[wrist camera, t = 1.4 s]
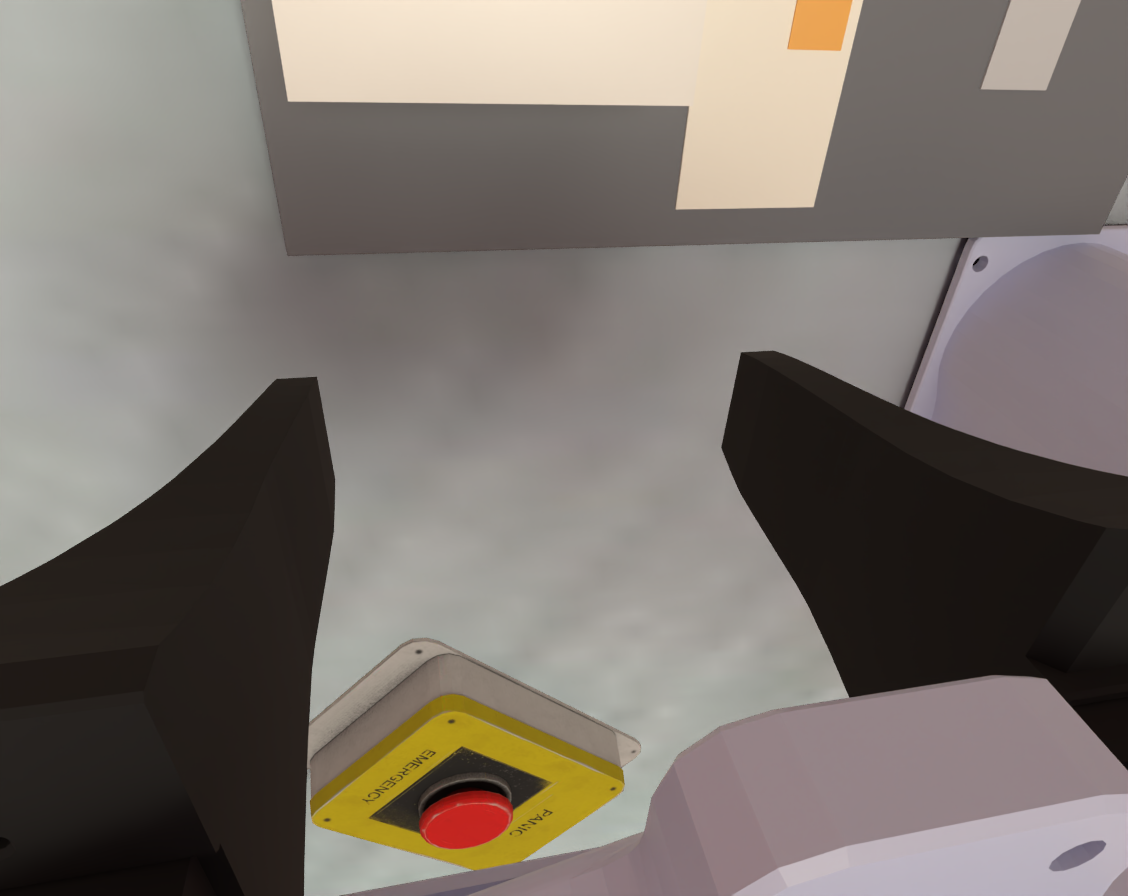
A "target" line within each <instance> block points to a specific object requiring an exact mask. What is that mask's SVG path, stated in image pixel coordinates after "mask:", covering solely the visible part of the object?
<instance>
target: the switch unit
mask: <svg viewBox="0 0 1128 896" xmlns="http://www.w3.org/2000/svg"><path fill="white" fill-rule="evenodd" d="M241 5H242V10H243V16H244V21H245V27H246V32H247V38H248V43H249V48H250V54H251V59H252V65H253V70H254V76H255V81H256V87H257V92H258V97H259V103H260V108H261V114H262V119H263V125H264V130H265V136H266V141H267V146H268V152H269V157H270V163H271V168H272V174H273V179H274V185H275V190H276V195H277V201H278V206H279V212H280V217H281V223H282V228H283V234H284V239H285V244H286V250H287V255H288V256H299V255H336V254H374V253H412V252H449V251H487V250H524V249H562V248H600V247H637V246H675V245H713V244H750V243H788V242H825V241H863V240H901V239H938V238H976V237H1013V236H1051V235H1089V234H1100V232H1101V230H1102V228H1103V226H1104V224H1105V221H1106V219H1107V217H1108V215H1109V213H1110V211H1111V209H1112V207H1113V205H1114V203H1115V200H1116V198H1117V196H1118V194H1119V192H1120V190H1121V188H1122V186H1123V184H1124V182H1125V180H1126V177H1127V175H1128V0H707V5H706V12H705V20H704V27H703V35H702V42H701V50H700V57H699V65H698V72H697V79H696V87H695V94H694V102H693V106H645V105H556V104H467V103H378V102H289V101H288V98H287V92H286V86H285V80H284V74H283V68H282V61H281V55H280V49H279V43H278V37H277V31H276V25H275V18H274V12H273V6H272V0H241Z"/></svg>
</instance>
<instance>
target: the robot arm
mask: <svg viewBox="0 0 1128 896" xmlns="http://www.w3.org/2000/svg"><path fill="white" fill-rule="evenodd" d="M979 257H980V259H979V261H978V262H977V264H975V265H974V266H973V263H974V262H975V260H976V259H977V258H979ZM721 448H722V450H723V453H724V456H725V458H726V461H727V463H728V466H729V468H730V471H731V473H732V476H733V478H734V480H735V482H736V485H737V487H738V489H739V491H740V493H741V495H742V497H743V498H744V500H745V502H746V504H747V505H748V507H749V509H750V510H751V512H752V514H753V515H754V517H755V518H756V520H757V522H758V523H759V525H760V527H761V528H762V530H763V532H764V533H765V535H766V536H767V538H768V540H769V541H770V543H771V544H772V546H773V548H774V549H775V551H776V552H777V554H778V556H779V557H780V559H781V561H782V562H783V564H784V565H785V567H786V569H787V570H788V572H789V573H790V575H791V577H792V578H793V580H794V581H795V583H796V585H797V587H798V588H799V590H800V592H801V594H802V595H803V597H804V599H805V601H806V603H807V604H808V606H809V608H810V611H811V613H812V615H813V617H814V619H815V621H816V623H817V625H818V628H819V630H820V632H821V634H822V636H823V638H824V640H825V643H826V645H827V647H828V649H829V651H830V653H831V656H832V658H833V660H834V663H835V665H836V667H837V670H838V672H839V674H840V677H841V679H842V681H843V684H844V686H845V688H846V691H847V693H848V695H849V698H845V699H838V700H832V701H826V702H819V703H813V704H807V705H801V706H794V707H788V708H782V709H775V710H770V711H767V712H764V713H761V714H758V715H754V716H751V717H748V718H745V719H742V720H739V721H735V722H732V723H729V724H726V725H723V726H720V727H718V728H717V729H715V730H714V731H712V732H711V733H709V734H708V735H706V736H705V737H703V738H702V739H700V740H699V741H697V742H696V743H695V744H693V745H692V746H690V747H689V748H687V749H686V750H684V751H683V752H681V753H680V754H678V756H677V757H676V759H675V760H674V762H673V764H672V765H671V767H670V768H669V770H668V771H667V773H666V775H665V776H664V778H663V779H662V781H661V782H660V784H659V786H658V787H657V789H656V791H655V793H654V794H653V796H652V798H651V803H650V808H649V812H648V817H647V822H646V826H645V831H644V832H641V833H638V834H635V835H632V836H629V837H626V838H624V839H621V840H618V841H615V842H613V843H610V844H607V845H604V846H602V847H597V848H592V849H586V850H581V851H576V852H570V853H565V854H560V855H554V856H549V857H544V858H538V859H533V860H528V861H522V862H517V863H512V864H506V865H501V866H496V867H490V868H485V869H480V870H474V871H469V872H464V873H458V874H453V875H448V876H442V877H437V878H432V879H426V880H421V881H416V882H410V883H405V884H400V885H394V886H389V887H384V888H378V889H373V890H368V891H362V892H357V893H352V894H346V895H341V896H1128V225H1119V226H1103V228H1102V230H1101V232H1100V234H1089V235H1051V236H1013V237H976V238H969V239H968V241H967V243H966V244H965V247H964V249H963V252H962V255H961V257H960V260H959V263H958V266H957V268H956V271H955V274H954V276H953V279H952V282H951V284H950V287H949V290H948V292H947V295H946V298H945V300H944V303H943V306H942V309H941V311H940V314H939V317H938V319H937V322H936V325H935V327H934V330H933V333H932V335H931V338H930V341H929V343H928V346H927V349H926V352H925V354H924V357H923V360H922V362H921V365H920V368H919V370H918V373H917V376H916V378H915V381H914V384H913V386H912V389H911V392H910V395H909V397H908V400H907V403H906V405H905V408H904V409H903V408H901V407H898V406H896V405H894V404H892V403H889V402H887V401H885V400H883V399H880V398H878V397H876V396H874V395H872V394H870V393H868V392H865V391H863V390H861V389H859V388H857V387H855V386H853V385H851V384H849V383H847V382H844V381H842V380H840V379H838V378H836V377H834V376H832V375H830V374H828V373H826V372H824V371H821V370H819V369H817V368H815V367H813V366H811V365H809V364H806V363H804V362H802V361H800V360H797V359H795V358H792V357H790V356H787V355H785V354H782V353H779V352H776V351H759V352H742V353H741V355H740V360H739V365H738V370H737V375H736V380H735V384H734V389H733V394H732V399H731V404H730V408H729V413H728V418H727V423H726V428H725V433H724V437H723V442H722V447H721ZM334 510H335V476H334V471H333V465H332V459H331V454H330V448H329V442H328V437H327V431H326V426H325V420H324V414H323V409H322V403H321V397H320V392H319V386H318V380H317V377H306V378H288V379H276V380H275V381H274V382H273V383H272V384H271V385H270V386H269V387H268V388H267V389H266V390H265V391H264V392H263V393H262V395H261V396H260V397H259V398H258V399H257V400H256V401H255V402H254V403H253V404H252V405H251V406H250V407H249V408H248V409H247V410H246V411H245V412H244V413H243V414H242V415H241V417H240V418H239V419H238V420H237V421H236V422H235V423H234V424H233V425H232V426H231V427H230V428H229V429H228V430H227V431H226V432H225V433H224V434H223V435H222V436H221V437H220V438H219V439H218V440H217V441H216V442H215V443H213V444H212V445H211V446H210V447H209V448H208V449H207V450H206V451H204V452H203V453H202V454H201V455H200V456H199V457H198V458H197V459H195V460H194V461H193V462H192V463H191V464H190V465H189V466H187V467H186V468H185V469H184V470H183V471H182V472H181V473H180V474H178V475H177V476H176V477H175V478H174V479H173V480H171V481H170V482H169V483H168V484H166V485H165V486H164V487H162V488H161V489H160V490H159V491H157V492H156V493H155V494H153V495H152V496H151V497H149V498H148V499H147V500H145V501H144V502H142V503H141V504H139V505H138V506H137V507H135V508H134V509H132V510H131V511H130V512H128V513H127V514H125V515H124V516H122V517H121V518H119V519H118V520H116V521H115V522H113V523H112V524H110V525H109V526H107V527H105V528H104V529H102V530H100V531H99V532H97V533H95V534H94V535H92V536H90V537H89V538H87V539H85V540H84V541H82V542H80V543H79V544H77V545H75V546H74V547H72V548H70V549H69V550H67V551H65V552H64V553H62V554H60V555H59V556H57V557H55V558H54V559H52V560H50V561H48V562H46V563H45V564H43V565H41V566H39V567H37V568H35V569H33V570H31V571H29V572H28V573H26V574H24V575H22V576H20V577H18V578H16V579H14V580H12V581H10V582H8V583H6V584H4V585H2V586H0V896H304V855H305V818H306V783H307V758H308V734H309V713H310V695H311V676H312V665H313V656H314V648H315V641H316V635H317V629H318V623H319V617H320V611H321V605H322V600H323V594H324V588H325V582H326V576H327V570H328V564H329V558H330V552H331V546H332V539H333V533H334Z"/></svg>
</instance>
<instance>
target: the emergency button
mask: <svg viewBox="0 0 1128 896" xmlns="http://www.w3.org/2000/svg"><path fill="white" fill-rule="evenodd" d="M640 752H641V745H640V743H639V742H638V741H637V740H636V739H635V738H633V737H631V736H629V735H627V734H625V733H623V732H621V731H619V730H617V729H615V728H613V727H611V726H609V725H607V724H605V723H603V722H601V721H599V720H597V719H595V718H593V717H591V716H589V715H587V714H585V713H583V712H581V711H579V710H577V709H575V708H573V707H571V706H569V705H567V704H565V703H563V702H561V701H559V700H557V699H555V698H553V697H551V696H549V695H547V694H545V693H543V692H540V691H538V690H536V689H534V688H532V687H530V686H528V685H526V684H524V683H522V682H520V681H518V680H516V679H514V678H512V677H510V676H508V675H506V674H504V673H502V672H500V671H498V670H496V669H494V668H492V667H490V666H488V665H486V664H484V663H482V662H480V661H478V660H476V659H474V658H472V657H470V656H468V655H466V654H464V653H462V652H460V651H458V650H456V649H454V648H452V647H450V646H448V645H446V644H444V643H442V642H440V641H436V640H433V639H429V638H416V639H411V640H409V641H407V642H405V643H403V644H401V645H400V646H399V647H398V648H396V649H395V650H394V651H393V652H392V653H391V654H389V655H388V656H387V657H386V658H385V659H384V660H382V661H381V662H380V663H379V664H378V665H376V666H375V667H374V668H373V669H372V670H371V671H369V672H368V673H367V674H366V675H365V676H364V677H362V678H361V679H360V680H359V681H358V682H357V683H355V684H354V685H353V686H352V687H351V688H349V689H348V690H347V691H346V692H345V693H344V694H342V695H341V696H340V697H339V698H338V699H337V700H335V701H334V702H333V703H332V704H331V705H329V706H328V707H327V708H326V709H325V710H324V711H322V712H321V713H320V714H319V715H318V716H317V717H315V718H314V719H313V720H312V721H311V722H309V734H308V758H307V769H310V770H311V800H310V807H311V818H312V822H313V824H315V825H317V826H319V827H321V828H325V829H329V830H332V831H336V832H339V833H343V834H346V835H350V836H353V837H357V838H361V839H364V840H368V841H371V842H375V843H378V844H382V845H386V846H389V847H393V848H396V849H400V850H403V851H407V852H411V853H414V854H418V855H421V856H425V857H428V858H432V859H435V860H439V861H443V862H446V863H450V864H453V865H457V866H460V867H464V868H468V869H471V870H480V869H485V868H490V867H496V866H501V865H506V864H512V863H517V862H521V861H522V860H524V859H525V858H527V857H528V856H530V855H531V854H533V853H534V852H536V851H537V850H538V849H540V848H541V847H543V846H544V845H546V844H547V843H549V842H550V841H552V840H553V839H555V838H556V837H558V836H559V835H561V834H562V833H564V832H565V831H567V830H568V829H569V828H571V827H572V826H574V825H575V824H577V823H578V822H580V821H581V820H583V819H584V818H586V817H587V816H589V815H590V814H592V813H593V812H595V811H596V810H598V809H599V808H601V807H602V806H603V805H605V804H606V803H608V802H609V801H611V800H612V799H614V798H615V797H617V796H618V795H619V794H620V793H621V792H622V791H623V790H624V785H625V784H624V775H623V770H622V767H623V766H624V765H626V764H627V763H629V762H630V761H632V760H633V759H635V758H636V757H637V756H638V754H639V753H640Z"/></svg>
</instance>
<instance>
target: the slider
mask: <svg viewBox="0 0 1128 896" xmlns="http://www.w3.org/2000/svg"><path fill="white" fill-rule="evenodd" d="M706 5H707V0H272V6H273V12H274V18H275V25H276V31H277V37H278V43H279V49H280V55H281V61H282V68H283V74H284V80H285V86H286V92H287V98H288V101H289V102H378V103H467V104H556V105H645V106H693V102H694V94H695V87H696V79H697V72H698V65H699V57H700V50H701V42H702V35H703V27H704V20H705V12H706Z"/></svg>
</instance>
